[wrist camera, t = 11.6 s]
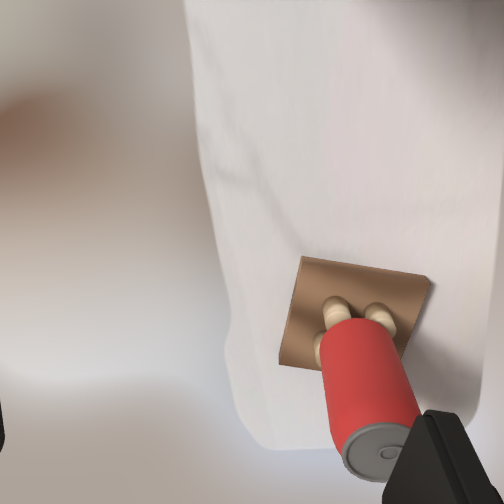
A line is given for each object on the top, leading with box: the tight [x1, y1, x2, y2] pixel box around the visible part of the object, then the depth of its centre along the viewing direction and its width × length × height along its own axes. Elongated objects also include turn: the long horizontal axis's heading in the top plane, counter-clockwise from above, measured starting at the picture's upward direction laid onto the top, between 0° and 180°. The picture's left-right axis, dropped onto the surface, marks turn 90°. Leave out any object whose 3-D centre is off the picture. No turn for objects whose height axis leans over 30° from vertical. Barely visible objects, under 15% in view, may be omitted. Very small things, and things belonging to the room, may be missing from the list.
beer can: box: [319, 318, 422, 483], centre depth 35 cm, size 7×7×12 cm
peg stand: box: [279, 256, 430, 371], centre depth 42 cm, size 12×12×4 cm
